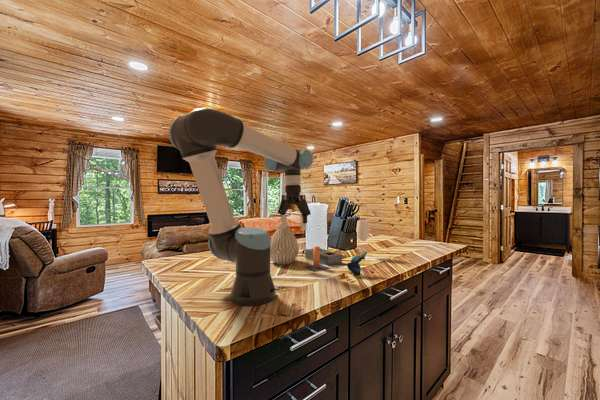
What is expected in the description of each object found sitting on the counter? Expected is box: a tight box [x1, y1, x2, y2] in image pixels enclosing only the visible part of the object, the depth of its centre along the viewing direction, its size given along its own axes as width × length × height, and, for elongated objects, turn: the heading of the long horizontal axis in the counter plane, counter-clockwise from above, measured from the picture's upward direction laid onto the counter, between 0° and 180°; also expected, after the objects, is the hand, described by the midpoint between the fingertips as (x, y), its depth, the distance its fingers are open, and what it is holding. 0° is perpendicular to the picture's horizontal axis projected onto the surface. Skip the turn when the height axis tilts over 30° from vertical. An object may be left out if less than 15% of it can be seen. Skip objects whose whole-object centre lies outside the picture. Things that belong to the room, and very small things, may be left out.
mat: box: [302, 264, 332, 273], centre depth 124 cm, size 10×10×1 cm
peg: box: [312, 245, 321, 269], centre depth 124 cm, size 3×3×10 cm
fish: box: [346, 251, 368, 276], centre depth 114 cm, size 4×10×10 cm, turn 112°
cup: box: [356, 219, 371, 242], centre depth 147 cm, size 7×7×21 cm
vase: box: [270, 223, 300, 266], centre depth 134 cm, size 16×16×20 cm
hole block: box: [305, 248, 343, 267], centre depth 137 cm, size 20×9×5 cm, turn 33°
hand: (293, 229), depth 124 cm, fingers open, 13 cm apart
